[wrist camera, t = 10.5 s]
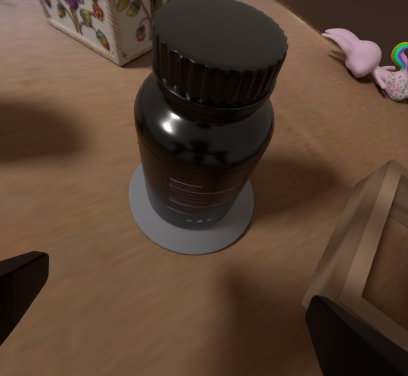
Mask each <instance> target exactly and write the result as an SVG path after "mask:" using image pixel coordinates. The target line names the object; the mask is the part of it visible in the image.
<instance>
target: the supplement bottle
mask: <svg viewBox="0 0 408 376" xmlns="http://www.w3.org/2000/svg"><path fill="white" fill-rule="evenodd" d="M152 50H153V53H152V57H151V64H152V73H151V74H150V75H149V76H148V77H147V78H146V79H145V81H144V82H143V84H142V85H141V87H140V89H139V91H138V93H137V96H136V99H135V104H134V118H135V126H136V132H137V138H138V144H139V150H140V156H141V162H142V168H143V174H144V180H145V186H146V191H147V196H148V199H149V202H150V204H151V206H152V208H153V210H154V211H155V212H156V214H157V215H158V216H159V217H160V218H161V219H163V220H164V221H165V222H167V223H169V224H171V225H173V226H175V227H178V228H181V229H188V230H197V229H203V228H207V227H210V226H212V225H214V224H216V223H218V222H219V221H220V220H222V219H223V218H224V217H225V216H226V215H227V213H228V212H229V211H230V209H231V207H232V206H233V204H234V203H235V201H236V199H237V198H238V196H239V194H240V193H241V191H242V189H243V188H244V186H245V184H246V182H247V181H248V179H249V177H250V176H251V174H252V172H253V171H254V169H255V167H256V166H257V164H258V162H259V161H260V159H261V157H262V156H263V154H264V152H265V150H266V149H267V147H268V145H269V143H270V141H271V138H272V135H273V132H274V112H273V107H272V104H271V101H270V99H269V98H270V96H271V94H272V92H273V90H274V88H275V85H276V78H277V76H278V73H279V71H280V69H281V67H282V65H283V63H284V60H285V58H286V54H287V50H288V44H287V37H286V36H285V35H284V31H283V30H282V29H281V28H280V27H279V25H278V24H277V23H276V22H274V21H273V19H272V18H271V17H269V16H267V15H266V14H265V13H263V12H262V11H260V10H257V9H256V8H254V7H253V6H250V5H247V4H245V3H243V2H240V1H236V0H168V1H167V2H166V3H165V4H162V5H160V8H159V9H157V10H155V15H154V16H153V17H152Z"/></svg>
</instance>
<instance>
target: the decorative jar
mask: <svg viewBox="0 0 408 376" xmlns="http://www.w3.org/2000/svg"><path fill="white" fill-rule="evenodd" d="M38 1H39V4H40V6H41V9H42V11H43V13H44V15H45V17H46V20H47V22H48V23H49V24H50V25H52V26H54V27H55V28H57V29H59V30H61V31H62V32H64V33H65V34H67V35H69V36H71V37H72V38H74V39H75V40H77V41H79V42H80V43H82V44H84V45H85V46H87V47H89V48H90V49H92V50H94V51H95V52H97V53H99V54H100V55H102V56H104V57H105V58H107V59H108V60H110V61H112V62H113V63H115V64H117V65H119V66H123V65H124V64H126V63H128V62H130V61H131V60H133V59H135V58H137V57H139V56H141V55H142V54H144V53H145V52H148V51H149V50H151V49H152V17H153V16H154V15H155V10H157V9H159V8H160V5H162V4H165V3H166V2H167V1H168V0H38Z"/></svg>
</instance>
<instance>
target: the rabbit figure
mask: <svg viewBox="0 0 408 376" xmlns="http://www.w3.org/2000/svg"><path fill="white" fill-rule="evenodd" d="M325 32H326V33H328V34H322V36H324V37H328V38H331V39H333V40H334V41H336V42H337V43H338V44H339V46H340V47H341V48H342V50H343V51H344V53H345V55H346V61H345V64H346V66H347V67H348V68H349V69H350V70H351V71H352V74H353V75H354V77H355V78H359V77H365V76H366V75H367V74H372V75H373V76H374V79H375V82H376V84H378V85H380V87H381V88H382V89H384V90H385V92H386V93H387V95H388V96H389V98H390V99H391V100H393V101H401V100H403V99H405V98H408V72H407V66H408V59H407V57H406V56H405V54H404V50H406V49H408V42H403V43H400V44H399V45H397V46H396V47H395V48H394V50H393V51H392V55H391V57H392V60H393V62H394V63H396V64H397V65H399V66H400V67H401V70H400V71H398V72H389V71H387V70H390V71H394V70H395V67H394V66H385V67H379V65H378V64H379V62H380V59H381V50H380V48H379V47H378V46H377V44H375V43H373V42H371V41H360V40H359V39H358V38H357V37H356V36H355V35H354V34H353V33H351V32H350V31H348V30H345V29H330V30H326V31H325Z"/></svg>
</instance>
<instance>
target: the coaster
mask: <svg viewBox="0 0 408 376" xmlns="http://www.w3.org/2000/svg"><path fill="white" fill-rule="evenodd" d="M128 198H129V205H130V209H131V212H132V216H133V218H134V220H135V222H136V224H137V225H138V227H139V228H140V230H141V231H142V232H143V233H144V234H145V235H146V236H147V237H148V238H149V239H150V240H151V241H153V242H154V243H155V244H157V245H159V246H160V247H162V248H164V249H167V250H169V251H172V252H175V253H178V254H184V255H204V254H209V253H213V252H216V251H219V250H221V249H223V248H225V247H227V246H228V245H230V244H231V243H233V242H234V241H235V240H236V239H237V238H238V237H239V236H240V235H241V234H242V233H243V232H244V230H245V229H246V227H247V226H248V224H249V222H250V220H251V217H252V214H253V208H254V194H253V189H252V185H251V183H250V180H249V179H248V181H247V182H246V184H245V186H244V188H243V189H242V191H241V193H240V194H239V196H238V198H237V199H236V201H235V203H234V204H233V206H232V207H231V209H230V211H229V212H228V213H227V215H226V216H225V217H224V218H223V219H222V220H220V221H219V222H218V223H216V224H214V225H212V226H210V227H207V228H203V229H197V230H188V229H181V228H178V227H175V226H173V225H171V224H169V223H167V222H165V221H164V220H163V219H161V218H160V217H159V216H158V215H157V214H156V212H155V211H154V210H153V208H152V206H151V204H150V202H149V199H148V196H147V191H146V186H145V180H144V174H143V168H142V162H141V163H140V164H139V165H138V167H137V168H136V169H135V171H134V173H133V175H132V178H131V181H130V185H129V195H128Z"/></svg>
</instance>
